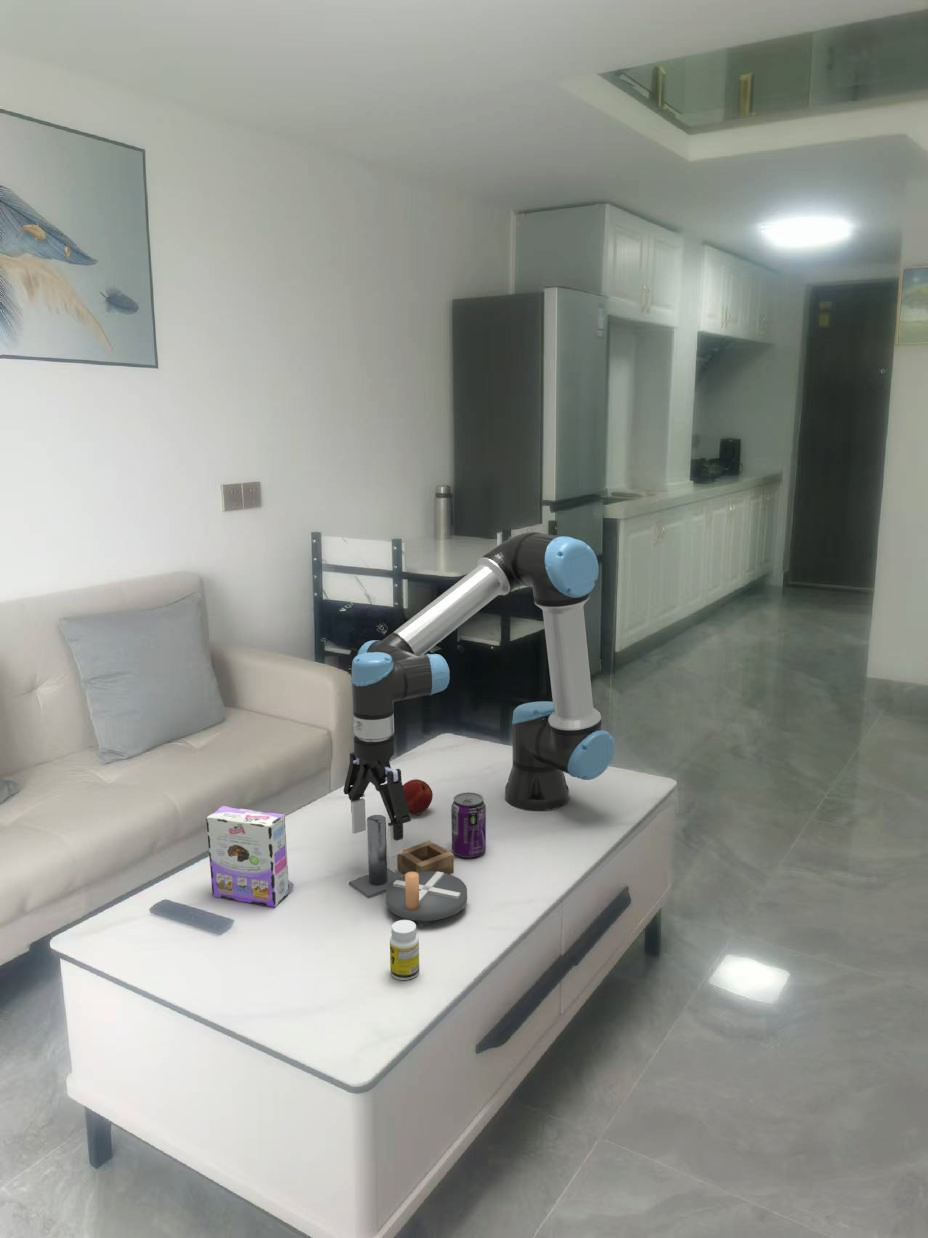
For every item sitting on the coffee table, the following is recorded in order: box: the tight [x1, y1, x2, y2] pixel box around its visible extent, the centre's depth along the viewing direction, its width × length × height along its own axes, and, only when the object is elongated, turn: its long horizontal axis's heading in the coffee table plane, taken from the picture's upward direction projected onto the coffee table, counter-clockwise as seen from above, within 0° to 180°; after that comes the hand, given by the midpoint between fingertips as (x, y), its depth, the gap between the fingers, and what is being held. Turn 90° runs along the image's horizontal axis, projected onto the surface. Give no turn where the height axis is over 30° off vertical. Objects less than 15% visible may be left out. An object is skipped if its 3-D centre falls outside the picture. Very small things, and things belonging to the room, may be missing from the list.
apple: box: [402, 778, 434, 815], centre depth 211 cm, size 7×8×8 cm
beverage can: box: [450, 791, 487, 859], centre depth 191 cm, size 7×7×12 cm
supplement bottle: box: [389, 919, 420, 981], centre depth 150 cm, size 5×5×8 cm
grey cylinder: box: [366, 814, 388, 886], centre depth 178 cm, size 4×4×13 cm
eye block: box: [396, 840, 455, 875], centre depth 184 cm, size 8×8×4 cm
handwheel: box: [385, 871, 468, 921], centre depth 170 cm, size 15×15×8 cm
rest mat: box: [348, 867, 401, 899], centre depth 179 cm, size 9×7×1 cm
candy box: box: [205, 805, 290, 908], centre depth 174 cm, size 14×6×16 cm, turn 71°
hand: (377, 842), depth 178 cm, fingers open, 12 cm apart
